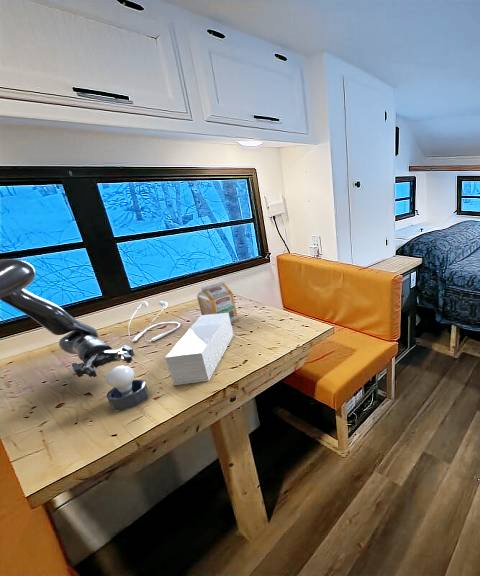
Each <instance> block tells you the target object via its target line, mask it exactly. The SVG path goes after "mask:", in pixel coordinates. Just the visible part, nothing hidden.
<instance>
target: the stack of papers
mask: <svg viewBox="0 0 480 576" xmlns="http://www.w3.org/2000/svg"><path fill="white" fill-rule="evenodd" d="M232 326H233V325H232V323H231V321H230V317H229V313H219V314H209V315H202V314H200V316H199V317H198V318H197V319H196V320H195V321H194V323H193V324H191V326H190V327H189V328H188V330H187V331H186V332H185V333H184V335H182V337H181V338H180V339H179V340H178V342H177V343H176V344H175V345H174V346H173V348H171V349H170V351H169V352H168V353H167V354H166V356H165V357H164V359H165V362H166V365H167V368H168V369H167V370H168V371H169V375H170V378H171V380H172V384H173V386H181V385H187V384H188V385H189V384H195V383H202V382H209V381H210V379H211V378H212V376H213V374H214V373H215V370H216V368H217V367H218V365H219V363H220V362H221V359H222V358H223V356H224V355H225V353H226V350H227V348H228V347H229V345H230V343H231V341H232V339H233V337H234V331H233V327H232Z"/></svg>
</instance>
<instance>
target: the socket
mask: <svg viewBox="0 0 480 576" xmlns="http://www.w3.org/2000/svg"><path fill="white" fill-rule="evenodd" d="M132 391H133V393H132V394H130V395H128V396H125V397H122V395H121V392H119V391H118V390H117V389H116V388H114V387H112V389H110V390H109V391H108V392H107V394H106V399H107V401H108V404H109V406H110V408H111V410H113V411H116V412H117V411H118V412H119V411H126V410H129V409H132V408H134V407H137V406H138V405H140V404H142V403H143V402H144V401H145V400H147V399H148V397H150V396H149V395H150V392H149V388H148V386H147V383H146V381H145V380H143V379H134V380H133V382H132Z"/></svg>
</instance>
